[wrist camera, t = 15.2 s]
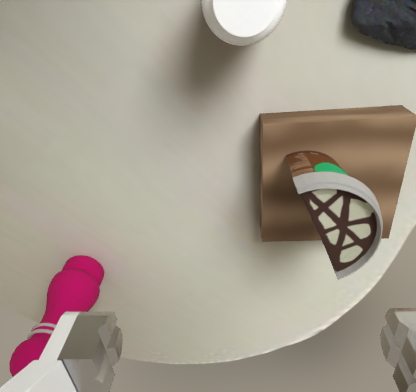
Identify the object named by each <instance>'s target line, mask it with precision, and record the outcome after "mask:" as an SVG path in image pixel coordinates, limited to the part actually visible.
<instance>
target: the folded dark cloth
mask: <svg viewBox="0 0 416 392" xmlns="http://www.w3.org/2000/svg"><path fill="white" fill-rule="evenodd" d="M352 24H353V26H354V27H355V28H357V29H358V30H359V31H360V32H361V33H362V34H364V35H367V36H371V37H373V38H375V39H379V40H381V41H383V42H385V43H386V44H391V45H401V46H404V47H405V48H408V49H416V0H354V2H353V13H352Z"/></svg>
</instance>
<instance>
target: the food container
mask: <svg viewBox="0 0 416 392" xmlns="http://www.w3.org/2000/svg"><path fill="white" fill-rule="evenodd" d="M286 157H287V160H288V163H289V166H290V169H291V173H292V176H293V181H294V184H295V186H296V189H297V191H298V194H301V197H302V198H303V200H304V202H305V204H306V206H307V209H308V211H309V213H310V215H311V217H312V220H313V222H314V224H315V226H316V228H317V232H318V233H319V235H320V237H321V239H322V242H323V244H324V246H325V248H326V251H327V253H328V255H329V258H330V261H331V263H332V266H333V269H334V271H335V274H336V276H337V279H341V278H344V277H346V276H348V275H350V274H352V273H354V272H355V271H357V270H358V269H360V268H361V267H362V266H364V265H365V264H366V263H367V262H368V261H369V260H370V259H371V257H372V256H373V255H374V253H375V252H376V250H377V249H378V246H379V244H380V241H381V236H382V230H383V221H382V216H381V212H380V208H379V204H378V202H377V200H376V197H375V196H374V194H373V193H372V192H371V190H370V189H369V188H368V187H367V186H366V185H364V184H363V183H362V182H360V181H358V180H357V179H355V178H353V177H350V176H348V175H347V174H346V172H345V171H344V170H343V169H342V168H341V167H340V165H339V164H338V163H337V162H336V161H335V160H334V159H333V158H331V157H330V156H328V155H326V154H324V153H321V152H317V151H308V150H306V151H298V152H293V153H290V154H288V155H286Z"/></svg>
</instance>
